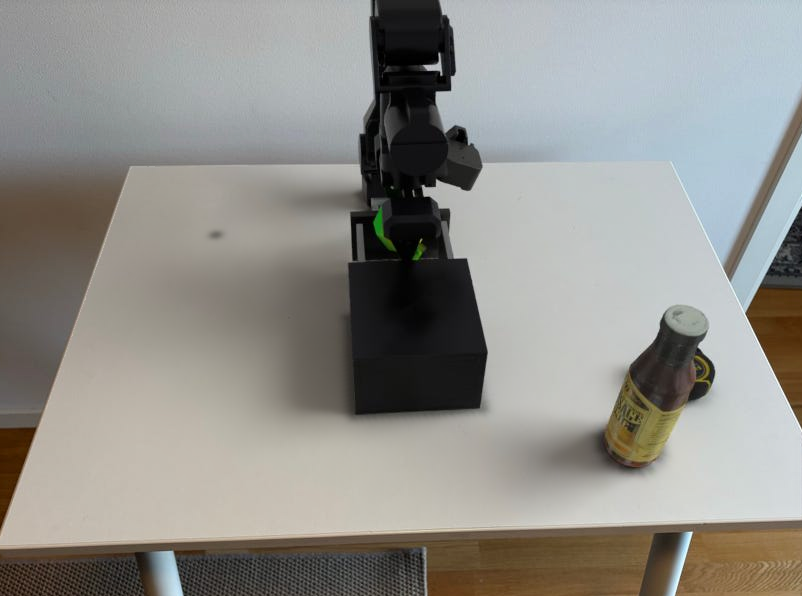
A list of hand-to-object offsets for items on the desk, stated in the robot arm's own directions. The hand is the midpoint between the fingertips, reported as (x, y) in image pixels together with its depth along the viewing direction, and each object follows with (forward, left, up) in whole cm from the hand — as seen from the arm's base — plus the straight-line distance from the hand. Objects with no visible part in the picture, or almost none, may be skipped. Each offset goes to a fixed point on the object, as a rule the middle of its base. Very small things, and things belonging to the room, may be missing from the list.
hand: (404, 240), depth 92 cm
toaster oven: (+3, +12, -8) cm, 15 cm away
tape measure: (-25, +25, -8) cm, 36 cm away
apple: (0, 0, -1) cm, 1 cm away
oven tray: (0, -2, -7) cm, 7 cm away
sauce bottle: (-15, +32, -8) cm, 37 cm away
